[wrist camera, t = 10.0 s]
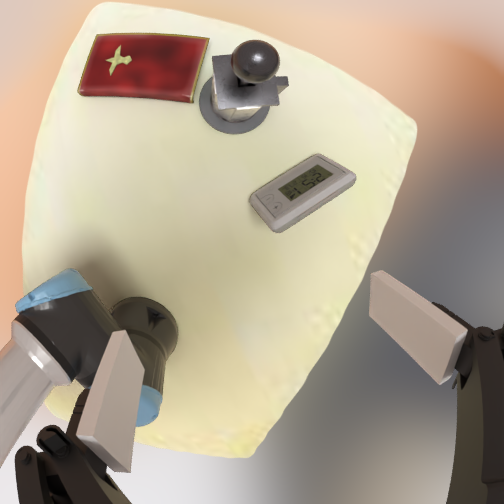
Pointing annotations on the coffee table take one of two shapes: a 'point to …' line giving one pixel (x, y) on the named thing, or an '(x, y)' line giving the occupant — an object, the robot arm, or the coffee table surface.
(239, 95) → the grey blocky piece
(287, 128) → the coffee table surface
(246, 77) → the ball knob lever
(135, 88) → the hardcover book
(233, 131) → the trivet
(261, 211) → the digital clock
